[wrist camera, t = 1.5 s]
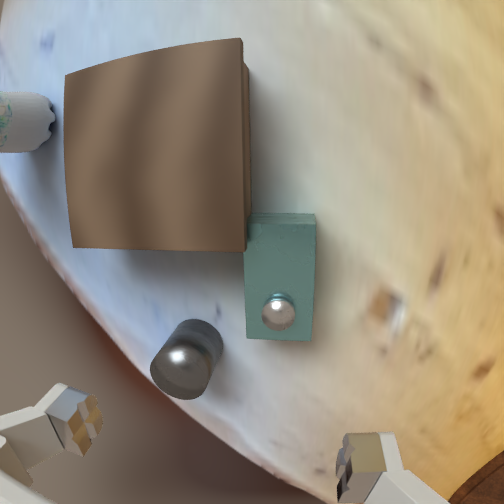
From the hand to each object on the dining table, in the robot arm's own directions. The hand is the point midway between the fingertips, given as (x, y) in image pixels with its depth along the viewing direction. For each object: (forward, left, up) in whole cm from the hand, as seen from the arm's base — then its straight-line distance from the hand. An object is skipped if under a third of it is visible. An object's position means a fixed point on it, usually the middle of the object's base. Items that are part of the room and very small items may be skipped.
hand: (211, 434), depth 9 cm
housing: (-1, +1, -19) cm, 19 cm away
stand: (+8, -9, -19) cm, 23 cm away
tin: (+7, +9, -19) cm, 22 cm away
